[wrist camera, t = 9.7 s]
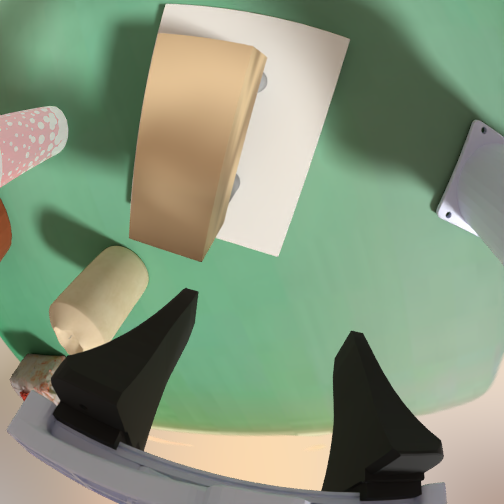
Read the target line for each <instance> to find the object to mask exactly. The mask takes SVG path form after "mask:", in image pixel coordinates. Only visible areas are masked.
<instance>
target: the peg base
mask: <svg viewBox="0 0 504 504" xmlns="http://www.w3.org/2000/svg"><path fill="white" fill-rule="evenodd" d="M158 33H166V34H178V35H187V36H196V37H203V38H211V39H217V40H223V41H229V42H235V43H240V44H245V45H250V46H254V47H255V48H256V49H258V50H259V51H260V52H261V53H263V54H264V55H265V56H266V57H267V61H266V64H265V68H264V71H263V75H262V78H261V82H260V85H259V89H258V92H257V96H256V100H255V103H254V107H253V111H252V114H251V118H250V122H249V126H248V129H247V133H246V137H245V141H244V144H243V148H242V152H241V156H240V160H239V164H238V168H237V172H236V176H235V180H234V184H233V188H232V192H231V196H230V200H229V204H228V208H227V212H226V216H225V221H224V224H223V225H222V227H221V229H220V231H219V232H218V234H217V236H216V238H218V239H221V240H225V241H228V242H231V243H234V244H238V245H241V246H244V247H247V248H251V249H254V250H257V251H260V252H264V253H267V254H270V255H273V256H277V257H278V256H279V253H280V250H281V247H282V245H283V242H284V239H285V236H286V233H287V230H288V228H289V225H290V222H291V219H292V216H293V213H294V210H295V208H296V205H297V202H298V199H299V196H300V193H301V190H302V187H303V184H304V181H305V178H306V175H307V172H308V170H309V167H310V164H311V161H312V158H313V155H314V152H315V149H316V146H317V143H318V139H319V136H320V133H321V130H322V127H323V124H324V121H325V118H326V115H327V112H328V109H329V106H330V102H331V99H332V96H333V93H334V90H335V87H336V84H337V80H338V77H339V74H340V71H341V67H342V64H343V61H344V58H345V54H346V51H347V48H348V45H349V41H350V39H349V38H346V37H343V36H340V35H337V34H334V33H331V32H328V31H324V30H321V29H318V28H314V27H311V26H307V25H304V24H300V23H296V22H292V21H288V20H284V19H279V18H275V17H270V16H266V15H260V14H255V13H250V12H244V11H237V10H231V9H223V8H215V7H206V6H195V5H180V4H166V5H165V8H164V12H163V15H162V19H161V22H160V26H159V30H158ZM157 37H158V34H157ZM156 41H157V38H156ZM155 45H156V42H155ZM154 49H155V46H154ZM153 53H154V50H153ZM152 58H153V55H152ZM151 62H152V59H151ZM150 67H151V64H150ZM149 71H150V69H149ZM148 76H149V73H148ZM147 81H148V78H147ZM146 86H147V83H146ZM145 92H146V89H145ZM144 97H145V94H144ZM143 103H144V100H143ZM142 109H143V106H142ZM141 115H142V112H141ZM140 121H141V118H140ZM139 127H140V124H139ZM138 134H139V131H138ZM137 142H138V139H137ZM136 149H137V146H136ZM135 158H136V154H135ZM134 166H135V163H134ZM133 176H134V173H133ZM132 187H133V183H132ZM131 198H132V195H131ZM130 212H131V209H130Z"/></svg>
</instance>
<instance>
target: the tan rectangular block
mask: <svg viewBox="0 0 504 504" xmlns="http://www.w3.org/2000/svg"><path fill="white" fill-rule="evenodd" d="M266 61H267V57H266V56H265V55H264V54H263V53H261V52H260V51H259V50H258V49H256V48H255V47H254V46H250V45H245V44H240V43H235V42H229V41H223V40H217V39H211V38H203V37H196V36H187V35H178V34H166V33H158V37H157V41H156V45H155V49H154V53H153V58H152V62H151V67H150V71H149V76H148V81H147V86H146V92H145V97H144V103H143V109H142V115H141V121H140V127H139V134H138V142H137V149H136V158H135V166H134V176H133V187H132V198H131V212H130V230H129V238H130V239H133V240H136V241H139V242H142V243H145V244H148V245H151V246H154V247H157V248H160V249H163V250H166V251H169V252H172V253H175V254H178V255H181V256H184V257H187V258H190V259H193V260H197V261H200V262H202V261H203V259H204V257H205V255H206V253H207V252H208V250H209V248H210V246H211V245H212V243H213V241H214V239H215V238H216V236H217V234H218V232H219V231H220V229H221V227H222V225H223V224H224V221H225V216H226V212H227V208H228V204H229V200H230V196H231V192H232V188H233V184H234V180H235V176H236V172H237V168H238V164H239V160H240V156H241V152H242V148H243V144H244V141H245V137H246V133H247V129H248V126H249V122H250V118H251V114H252V111H253V107H254V103H255V100H256V96H257V92H258V89H259V85H260V82H261V78H262V75H263V71H264V68H265V64H266Z"/></svg>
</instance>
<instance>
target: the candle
mask: <svg viewBox="0 0 504 504" xmlns="http://www.w3.org/2000/svg"><path fill="white" fill-rule="evenodd" d="M148 281H149V276H148V271H147V269H146V266H145V265H144V263H143V261H142V260H141V259H140V258H139V257H138V256H137V255H136V254H135V253H134V252H132V251H131V250H129V249H127V248H125V247H122V246H110V247H108V248H106V249H105V250H103V251H102V252H101V253H100V254H99V255H98V256H97V257H96V258H95V259H94V260H93V261H92V262H91V263H90V264H89V265H88V266H87V267H86V268H85V269H84V270H83V271H82V272H81V273H80V274H79V275H78V276H77V277H76V278H75V279H74V281H73V282H72V283H71V284H70V285H69V286H68V287H67V288H66V289H65V290H64V291H63V292H62V293H61V294H60V295H59V297H58V298H57V299H56V300H55V301H54V302H53V303H52V304H51V306H50V308H49V316H50V322H51V325H52V328H53V330H54V332H55V334H56V336H57V338H58V340H59V342H60V344H61V345H62V346H63V347H64V348H65V350H66V351H67V353H68V354H70V355H73V354H76V353H80V352H83V351H87V350H90V349H92V348H95V347H98V346H100V345H103V344H105V343H107V342H110V341H111V340H112V338H113V337H114V335H115V334H116V332H117V331H118V329H119V328H120V326H121V325H122V323H123V322H124V320H125V319H126V317H127V316H128V314H129V313H130V311H131V310H132V308H133V307H134V306H135V304H136V303H137V301H138V300H139V298H140V297H141V295H142V294H143V292H144V291H145V289H146V287H147V285H148Z"/></svg>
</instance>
